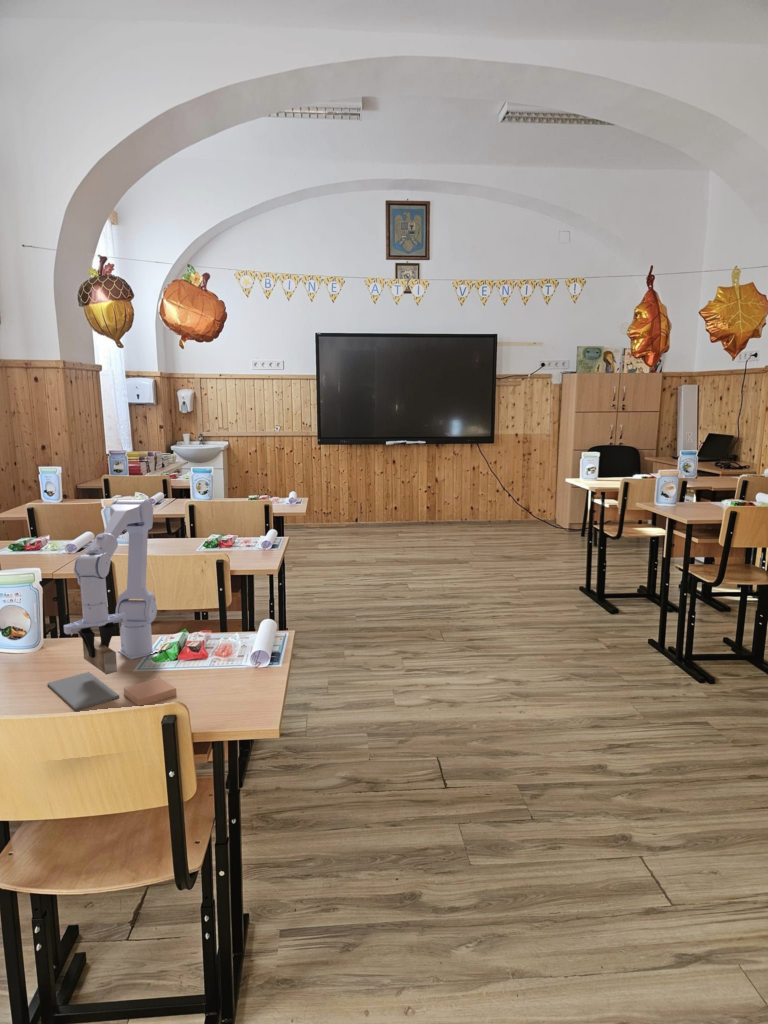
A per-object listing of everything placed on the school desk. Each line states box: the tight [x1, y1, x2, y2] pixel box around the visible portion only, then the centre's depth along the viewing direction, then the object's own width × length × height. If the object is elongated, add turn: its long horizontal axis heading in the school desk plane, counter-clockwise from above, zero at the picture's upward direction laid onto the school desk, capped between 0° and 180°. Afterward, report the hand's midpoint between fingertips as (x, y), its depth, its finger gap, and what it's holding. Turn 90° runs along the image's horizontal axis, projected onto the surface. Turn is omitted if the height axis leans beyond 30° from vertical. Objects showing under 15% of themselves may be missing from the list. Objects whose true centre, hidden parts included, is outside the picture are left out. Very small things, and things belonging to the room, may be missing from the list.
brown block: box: [82, 638, 118, 675], centre depth 161 cm, size 15×3×5 cm, turn 44°
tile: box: [123, 677, 177, 706], centre depth 156 cm, size 2×9×9 cm
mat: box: [47, 671, 120, 711], centre depth 158 cm, size 20×10×1 cm, turn 44°
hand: (98, 655), depth 161 cm, fingers closed on brown block, 2 cm apart
